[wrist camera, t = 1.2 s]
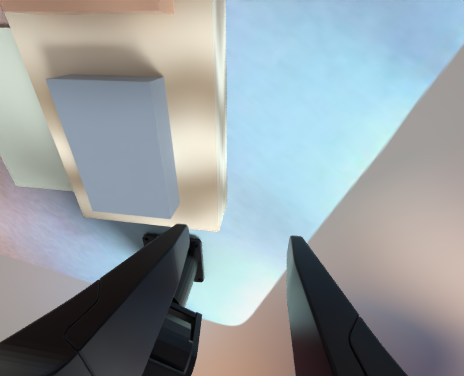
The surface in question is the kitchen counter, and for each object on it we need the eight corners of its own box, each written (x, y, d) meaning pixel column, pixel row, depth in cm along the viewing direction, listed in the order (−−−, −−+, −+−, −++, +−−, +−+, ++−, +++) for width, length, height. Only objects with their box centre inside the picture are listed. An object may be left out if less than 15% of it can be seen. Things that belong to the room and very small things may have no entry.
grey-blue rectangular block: (179, 203, 19) (170, 219, 17) (108, 196, 20) (92, 211, 18) (163, 76, 14) (149, 82, 13) (70, 74, 15) (45, 79, 14)
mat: (105, 192, 25) (103, 194, 25) (18, 184, 26) (16, 186, 26) (54, 27, 18) (50, 27, 17) (-63, 27, 19) (-68, 27, 19)
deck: (227, 203, 23) (218, 231, 20) (109, 193, 25) (83, 217, 22) (224, -108, 13) (207, -159, 10) (24, -94, 15) (-53, -134, 11)
